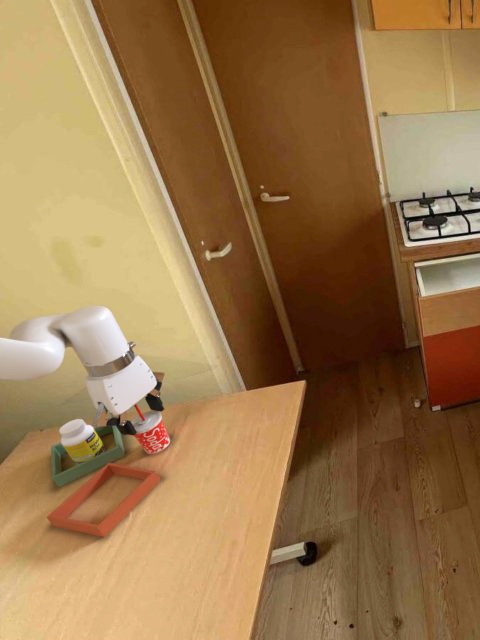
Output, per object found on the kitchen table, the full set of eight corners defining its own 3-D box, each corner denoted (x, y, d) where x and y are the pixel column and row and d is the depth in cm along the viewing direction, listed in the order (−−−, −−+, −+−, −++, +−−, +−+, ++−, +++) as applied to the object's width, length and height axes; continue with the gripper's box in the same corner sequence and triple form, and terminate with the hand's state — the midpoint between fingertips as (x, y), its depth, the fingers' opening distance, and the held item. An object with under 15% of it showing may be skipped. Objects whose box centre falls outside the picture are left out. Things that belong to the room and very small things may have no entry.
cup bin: (55, 527, 84) (46, 517, 82) (115, 472, 95) (108, 462, 93) (106, 539, 82) (97, 528, 81) (162, 481, 93) (155, 471, 91)
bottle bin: (58, 456, 98) (50, 446, 97) (120, 429, 105) (114, 418, 104) (60, 489, 91) (51, 478, 90) (126, 457, 98) (119, 446, 97)
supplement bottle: (102, 460, 97) (82, 430, 92) (71, 469, 95) (49, 439, 90) (109, 442, 101) (90, 413, 97) (80, 450, 99) (59, 421, 95)
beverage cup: (140, 462, 97) (114, 420, 90) (145, 443, 102) (120, 401, 95) (173, 451, 100) (150, 409, 93) (176, 432, 104) (154, 391, 98)
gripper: (134, 333, 96) (164, 391, 105) (49, 388, 81) (91, 451, 90) (162, 337, 95) (190, 395, 104) (81, 394, 80) (121, 456, 88)
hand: (144, 420), depth 96 cm, fingers closed on beverage cup, 6 cm apart
